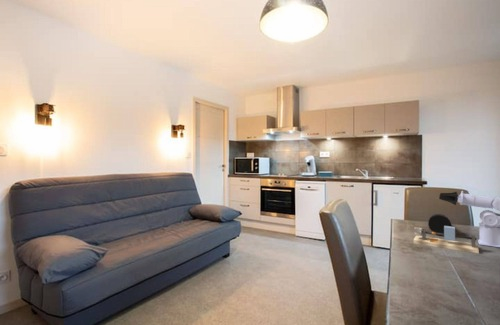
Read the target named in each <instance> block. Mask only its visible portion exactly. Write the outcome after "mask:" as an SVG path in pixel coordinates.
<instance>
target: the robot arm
mask: <svg viewBox="0 0 500 325" xmlns="http://www.w3.org/2000/svg"><path fill="white" fill-rule="evenodd" d="M460 191H461V192H460V194H458V193H457V192H458V191H453V192H441V193H439V199H438V200H441V201H444V202H447V203H449V204H450V203H451V204H453V205H455V206H457V203H459V205H460V206H469V207H476V208H484V209H485V210H482V211H481V212H480V214H479V218H480V220H481V221H480V222H479V223H478V224H479V225H478V227H479V230H478V232H479V233H478V234H479V239H477V242H478V245H480V246H486V247H495V248H500V213H497V212H494V211H493V210H489V209H495V210H496V211H500V196H494V197H493V196H486V195H479V194H471V193H464V190H460Z"/></svg>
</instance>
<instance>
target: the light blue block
mask: <svg viewBox="0 0 500 325" xmlns="http://www.w3.org/2000/svg"><path fill="white" fill-rule="evenodd" d="M455 235H456V227H455V226H452V227H451V226H444V236H443V239H444V240H450V241H456V237H455Z"/></svg>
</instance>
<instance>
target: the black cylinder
mask: <svg viewBox="0 0 500 325" xmlns="http://www.w3.org/2000/svg"><path fill="white" fill-rule="evenodd" d="M427 224H428V228H429V230H430V232H436V233H443V234H444V226H451V227H453V226H452V222H451V220H450V219H449V217H448V216H446V215H444V214H441V213H435V214H433V215H430V217H429V219H428V222H427Z"/></svg>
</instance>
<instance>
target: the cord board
mask: <svg viewBox="0 0 500 325" xmlns="http://www.w3.org/2000/svg"><path fill="white" fill-rule="evenodd" d="M413 233H414V235H415V236H414V238H413V239H412V240H413V244H415V245H416V244H417V245H423V246H428V247H436V248H441V249H448V250H454V251H460V252H468V253H473V254H480V252H479V251H480V250H479V247H478V246H479V245H478V244H477V243H476V241H477V237H476V235H475V234H471V236H464V235H457V234H455V238H459V239H466V240H471V242H466V241H457V240H455V241H450V240H444V238H438V237H430V236H427V234H428V235H429V234H430V235H434V236H436V235H437V236H442V237H444V234H443V233H436V232H433V231H429V230H427V229H426V228H422V227H417V226H414V228H413Z"/></svg>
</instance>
